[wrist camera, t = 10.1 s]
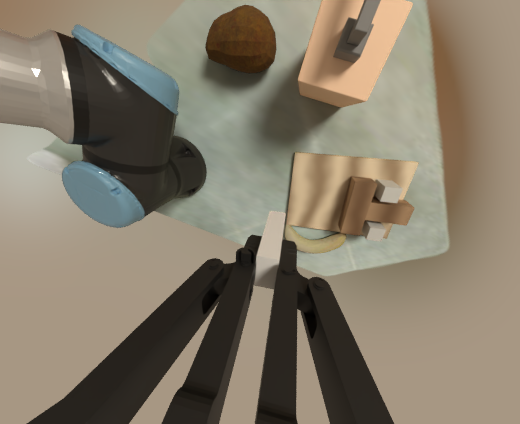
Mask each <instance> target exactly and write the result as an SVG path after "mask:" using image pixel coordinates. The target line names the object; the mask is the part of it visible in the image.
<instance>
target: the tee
mask: <svg viewBox="0 0 520 424" xmlns="http://www.w3.org/2000/svg"><path fill="white" fill-rule="evenodd" d="M376 187H377V183H376V182H375V181H374V180H373V179H371V178H365V177H355V176H351V178H350V182H349V185H348V189H347V193H346V196H345V200H344V204H343V207H342V211H341V214H340V218H339V222H338V226H339V229H340V232H341V233H345V234H352V235H359V236H360V233H361V230H362V227H363V224H364V221H365V220H369V221H377V222H384V223H392V224H399V225H407V223H408V221H409V219H410V217H411V215H412V213H413V210H414V207H413V206H412V205H410V204H409V203H408V202H407V201H405V200H398V202H397V203H390V202H381V201H379V200H378V198H377V197H373V196H374V193H375V190H376Z"/></svg>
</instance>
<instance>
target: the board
mask: <svg viewBox="0 0 520 424" xmlns="http://www.w3.org/2000/svg"><path fill="white" fill-rule="evenodd" d="M418 164H419V163H418V162H414V161H401V160H389V159H376V158H364V157H351V156H339V155H326V154H314V153H301V152H295V159H294V166H293V174H292V182H291V190H290V198H289V206H288V214H287V222H286V225H294V226H301V227H308V228H315V229H322V230H329V231H336V232H340V229H339V226H338V222H339V218H340V214H341V211H342V207H343V204H344V200H345V196H346V193H347V189H348V185H349V182H350V178H351V176H355V177H365V178H371V179H373V180H374V181H375V182H376V179H380V180H391V181H393V182H395V183H396V184H397V185H399V186H400V187H402V188H403V190H402V192H401V195H400V197H399V200H403V199H404V197H405V194H406V192H407V190H408V187H409V185H410V182H411V180H412V178H413V175H414V173H415V171H416V168H417V166H418ZM373 197H376V196H375V195H374V196H373ZM381 223H382V225H383V226H384V228H385V229H386V231H385V234H384V236H383V238H386V239H387V237H388V234H389V232H390V230H391V227H392V225H393V224H392V223H384V222H381ZM360 235H364V234H363V232H362V230H361V233H360Z"/></svg>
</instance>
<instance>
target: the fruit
mask: <svg viewBox="0 0 520 424" xmlns="http://www.w3.org/2000/svg"><path fill="white" fill-rule="evenodd" d="M285 238H286V240H289V241H294V242H295V244H296V245H297V249H298V250H300V251H303V252H308V253H324V252H328V251H331V250H334V249H336V248H338V247H340V246H341V245H342V244H343V243H344V241H345V239H346V234H345V233H338V234H334V235H332V236H329V237H326V238H323V239H318V240H309V239H305V238H303V237H301V236H300V235H299V234H297V233H296V231H295V230H294V229H293V228H292V227H291V225H286V227H285Z"/></svg>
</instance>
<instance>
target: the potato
mask: <svg viewBox="0 0 520 424" xmlns="http://www.w3.org/2000/svg"><path fill="white" fill-rule="evenodd" d="M206 51H207V54H208V57H209V59H211V60H213V61H215V62H218V63H220V64H223V65H226V66H228V67H230V68H232V69H235V70H237V71H241V72H245V73H257V72H260V71H263V70H265V69H267V68H269V67H270V65H271V64H272V63H273V62H274V59H275V54H276V38H275V32H274V30H273V27H272V25H271V23H270V21H269V19H268V17H267V16H266V15H265V14H263V13H262V12H261V11H260V10H258V9H257V8H255V7H253V6H249V5H243V6H240V7H237V8H235V9H234V10H232V11H230V12H228V13H225V14H223V15H221V16H220V17H218V18H217V19H216V20H214V22H213V24H212V26H211V27H210V29H209V33H208V37H207V42H206Z"/></svg>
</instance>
